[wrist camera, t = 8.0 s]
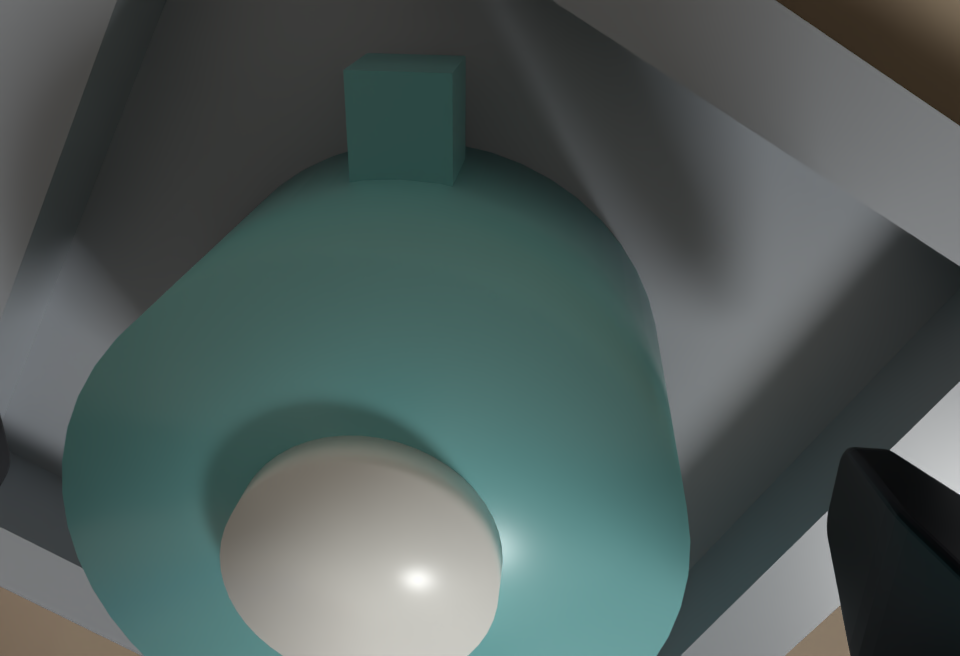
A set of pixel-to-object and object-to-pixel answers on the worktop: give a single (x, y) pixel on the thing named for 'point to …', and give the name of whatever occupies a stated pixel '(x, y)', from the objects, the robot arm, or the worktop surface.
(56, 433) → the tray
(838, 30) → the worktop surface
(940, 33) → the worktop surface
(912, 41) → the worktop surface
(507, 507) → the teal rounded toy
